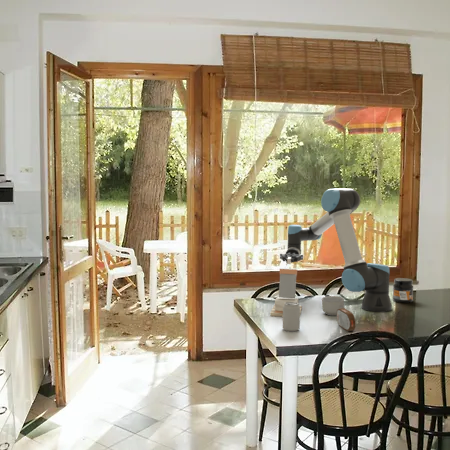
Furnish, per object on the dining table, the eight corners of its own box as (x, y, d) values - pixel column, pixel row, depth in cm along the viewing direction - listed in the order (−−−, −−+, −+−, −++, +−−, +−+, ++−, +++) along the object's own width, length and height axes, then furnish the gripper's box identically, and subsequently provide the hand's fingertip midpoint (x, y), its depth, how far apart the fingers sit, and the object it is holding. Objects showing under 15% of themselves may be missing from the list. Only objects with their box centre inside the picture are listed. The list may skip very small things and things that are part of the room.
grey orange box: (278, 297, 277) (280, 270, 281) (295, 298, 275) (297, 270, 280) (278, 296, 274) (279, 268, 279) (295, 297, 272) (296, 269, 277)
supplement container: (403, 304, 295) (404, 282, 294) (388, 300, 304) (389, 278, 303) (417, 302, 300) (417, 280, 299) (401, 298, 309) (402, 277, 308)
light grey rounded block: (343, 317, 266) (344, 301, 265) (320, 316, 268) (321, 299, 267) (343, 310, 279) (343, 295, 279) (321, 309, 281) (322, 293, 281)
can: (281, 327, 246) (281, 301, 245) (297, 327, 247) (298, 301, 246) (284, 332, 239) (284, 305, 238) (301, 332, 240) (301, 304, 239)
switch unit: (274, 307, 285) (274, 294, 284) (301, 308, 282) (302, 296, 282) (270, 315, 267) (270, 302, 267) (299, 317, 265) (299, 304, 264)
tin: (356, 333, 239) (356, 314, 238) (349, 333, 238) (349, 314, 237) (341, 324, 254) (342, 306, 253) (335, 324, 253) (335, 306, 252)
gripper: (304, 262, 305) (301, 269, 282) (280, 260, 308) (275, 267, 285) (304, 248, 305) (301, 254, 282) (281, 247, 307) (276, 253, 284)
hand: (288, 261), depth 283 cm, fingers closed
